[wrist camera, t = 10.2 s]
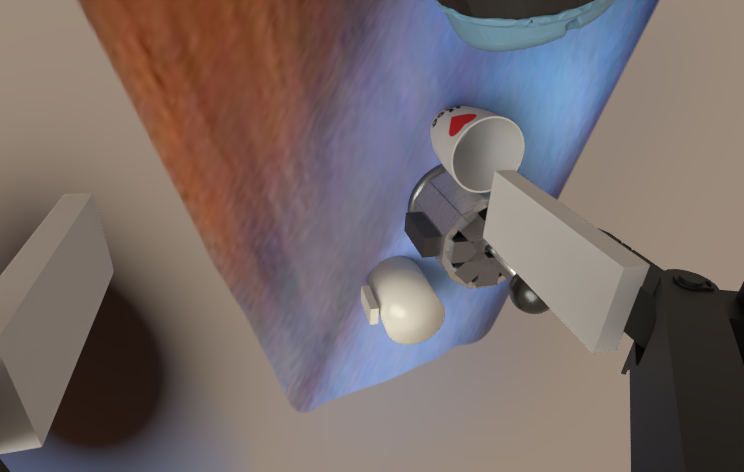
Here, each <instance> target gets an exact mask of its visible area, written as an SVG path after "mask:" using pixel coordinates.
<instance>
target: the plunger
mask: <svg viewBox="0 0 744 472" xmlns="http://www.w3.org/2000/svg"><path fill="white" fill-rule="evenodd" d="M486 209H487V207H486V208H485V209H483V210H481V211H480V212H478V213H477V214H478V215H479V216H480V217H481V218H482V219H483V220H485V215H486ZM466 220H467V219H466ZM466 220H465V221H466ZM465 221H464V222H465ZM457 238H466V237H465V236H464V235H463V234H462V233H461V232H460V231H459V230H458V231H457V233H456V234H455V235H454V237H453V238H452V239H457ZM485 247H486V248H487V249H488V250H489V251H490V252H491V253H492V254H493V256H494V257H495V258H496V259H497V260H498V261H499V262H500V263H501V264H502V265H503V266H504V267H505V269H506V270H507V271H508V272H509V273H510V274H511V275H512V276H513V278H512V280H511V282H510V285H509V295H510V297H511V300H512V302H513V303H514V305H515V306H516V307H517V308H518V309H520V310H521V311H524V312H526V313H530V314H539V313H543V312H545V311H547V310H548V309H550V308H549V307H548V306H547V305H546V303H545V302H544V301H543V300H542V299H541V298H540V297H539V296H538V295H537V294H536V293H535V292H534V291H533V290H532V289H531V288H530V287H529V286H528V284H527V283H526V282H525V281H524V280H523V279H522V278H521V277H520V276H519V275H518V274H517V273H516V272H515V271H514V270H513V269H512V268H511V267H510V265H509V264H508V263H507V262H506V261H505V260H504V259H503V258H502V257H501V256H500V255H499V254H498V253H497V252H496V251H495V250H494V249H493V248H492V246H491V245H490V244H488V245H487V246H485Z"/></svg>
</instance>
